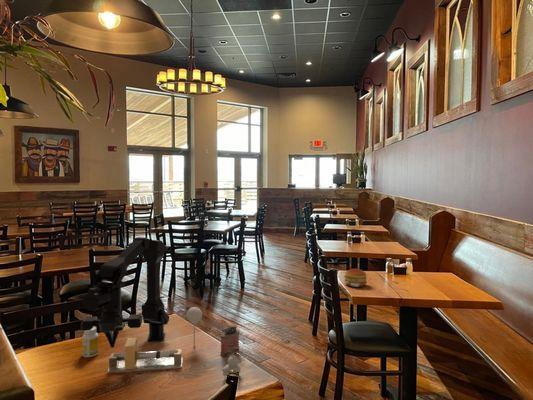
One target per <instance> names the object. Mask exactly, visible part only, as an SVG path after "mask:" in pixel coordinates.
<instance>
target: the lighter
mask: <svg viewBox="0 0 533 400" xmlns="http://www.w3.org/2000/svg"><path fill="white" fill-rule="evenodd" d="M237 327H238V326H237V324H236V325H235V324H234V325H231V324H230V325H228V327H223V328H222V329H221V330H222V333H221V334H220V352H219V353H220V357H223V358H225V357H230V355H231V354H232V355H233V353H234V355H235V354H236V353H238V352H240V347H239V345H240V343H239V341H240V335H239V334H240V330H239V329H237Z"/></svg>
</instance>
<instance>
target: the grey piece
mask: <svg viewBox="0 0 533 400" xmlns="http://www.w3.org/2000/svg"><path fill="white" fill-rule="evenodd" d="M182 350H183V349H182V348H178V349H169V350H152V351H137V352H135V360H137V362H136V365H135V368H134V369H125V352H113V353H111V354H110V355H109V358H108V365H109V366H108V369H107V374H111V373H112V374H113V373H126V372H127V373H128V372H143V371H144V372H145V371H157V370H160V371H161V370H169V369H170V370H172V369H182V368H183V361H184V359H183V357H182V352H183V351H182Z"/></svg>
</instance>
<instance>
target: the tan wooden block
mask: <svg viewBox="0 0 533 400" xmlns="http://www.w3.org/2000/svg"><path fill="white" fill-rule="evenodd" d="M135 352H138V337H128V338H127V340H126V343H125V344H124V353H125V369H134V368H135V365H136V362H137V360H135Z"/></svg>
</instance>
